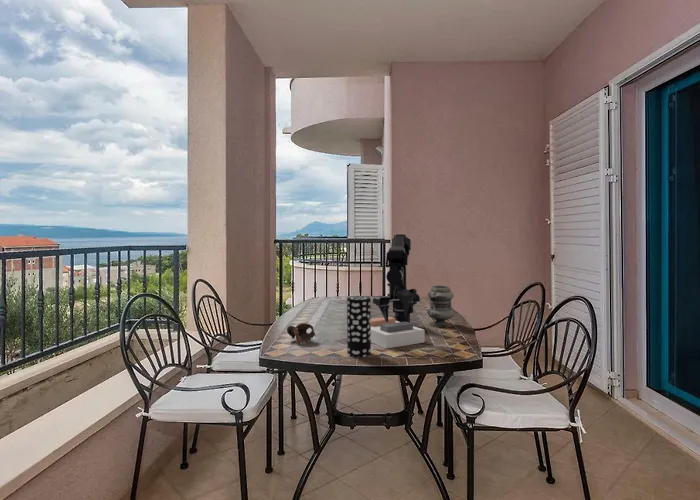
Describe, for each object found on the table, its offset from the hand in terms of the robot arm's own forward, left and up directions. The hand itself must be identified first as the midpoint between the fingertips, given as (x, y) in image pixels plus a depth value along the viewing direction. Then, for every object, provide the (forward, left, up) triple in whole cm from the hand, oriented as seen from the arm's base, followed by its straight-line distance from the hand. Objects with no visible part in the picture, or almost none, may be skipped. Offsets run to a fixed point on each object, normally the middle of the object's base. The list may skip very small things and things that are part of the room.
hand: (396, 320), depth 168 cm
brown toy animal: (+33, -20, -9) cm, 39 cm away
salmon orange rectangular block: (0, -12, -5) cm, 13 cm away
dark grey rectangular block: (0, 0, -5) cm, 5 cm away
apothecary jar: (-35, -15, -9) cm, 39 cm away
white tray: (0, -6, -8) cm, 10 cm away
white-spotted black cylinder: (+21, +7, -9) cm, 24 cm away
